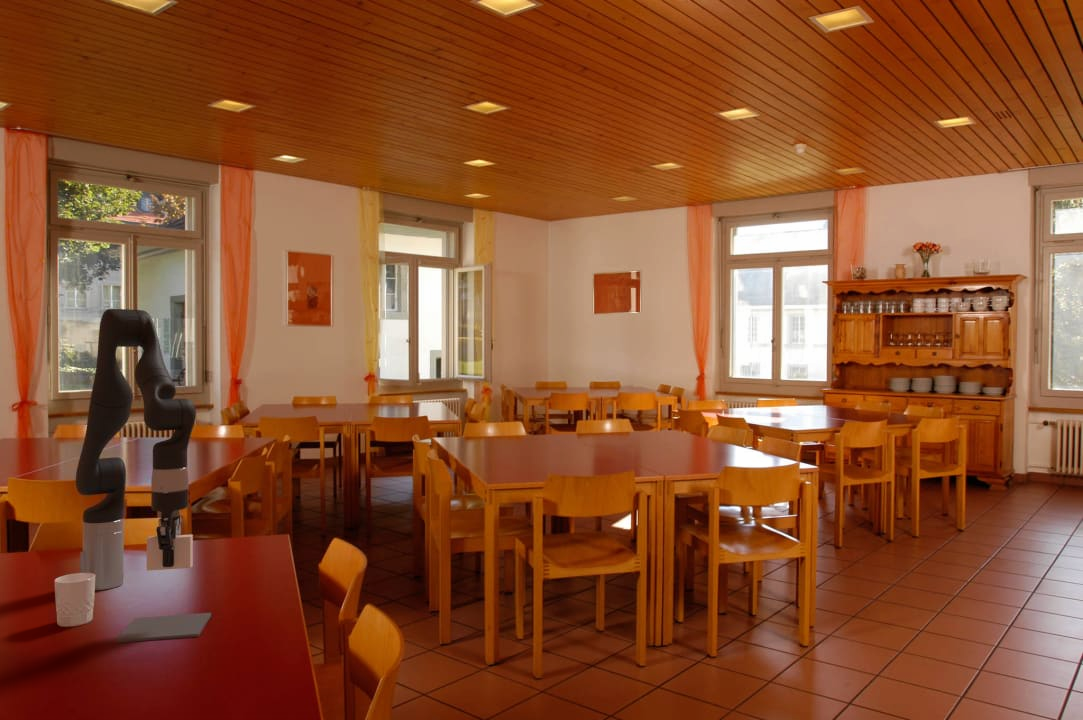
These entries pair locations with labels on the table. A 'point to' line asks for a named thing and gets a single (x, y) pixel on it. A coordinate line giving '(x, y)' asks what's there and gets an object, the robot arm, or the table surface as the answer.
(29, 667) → the table surface
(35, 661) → the table surface
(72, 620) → the white cup
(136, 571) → the table surface
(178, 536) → the beige flat block
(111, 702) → the table surface
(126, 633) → the mat
